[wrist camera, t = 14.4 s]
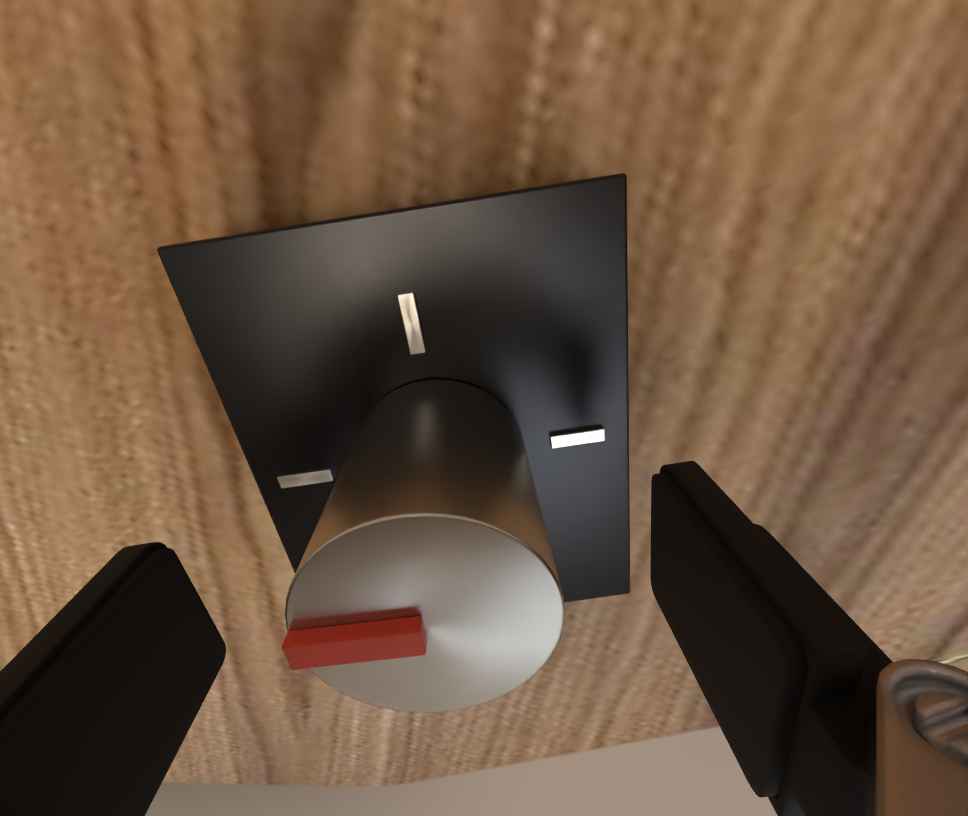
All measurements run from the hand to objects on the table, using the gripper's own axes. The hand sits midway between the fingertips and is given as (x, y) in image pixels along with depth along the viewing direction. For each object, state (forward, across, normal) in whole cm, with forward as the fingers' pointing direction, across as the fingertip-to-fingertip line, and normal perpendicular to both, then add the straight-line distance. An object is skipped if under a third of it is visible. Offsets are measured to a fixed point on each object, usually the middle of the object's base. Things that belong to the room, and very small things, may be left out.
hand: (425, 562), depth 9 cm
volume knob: (+3, 0, 0) cm, 3 cm away
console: (+6, 0, 0) cm, 7 cm away
